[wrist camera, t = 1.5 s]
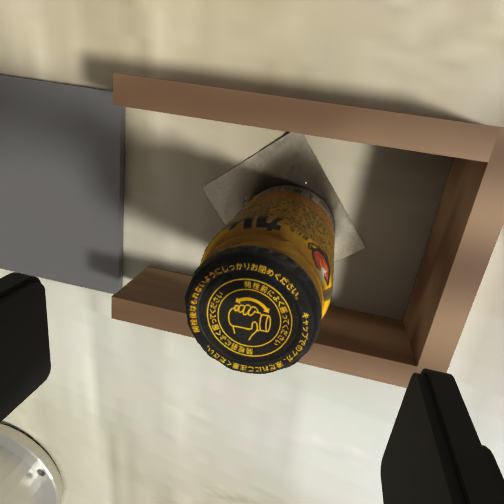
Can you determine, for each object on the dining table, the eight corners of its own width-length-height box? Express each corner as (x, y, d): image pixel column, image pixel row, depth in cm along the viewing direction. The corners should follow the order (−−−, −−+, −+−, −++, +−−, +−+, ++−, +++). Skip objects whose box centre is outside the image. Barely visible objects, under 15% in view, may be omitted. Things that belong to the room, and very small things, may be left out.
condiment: (268, 292, 27) (221, 416, 16) (202, 187, 26) (100, 243, 15) (365, 246, 25) (389, 354, 14) (299, 126, 23) (266, 138, 12)
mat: (122, 291, 30) (118, 295, 29) (-39, 255, 31) (-46, 257, 31) (125, 93, 25) (120, 92, 24) (-67, 64, 26) (-75, 63, 26)
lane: (419, 345, 26) (437, 395, 22) (147, 285, 29) (111, 318, 24) (494, 128, 21) (538, 132, 17) (156, 80, 24) (112, 72, 19)
